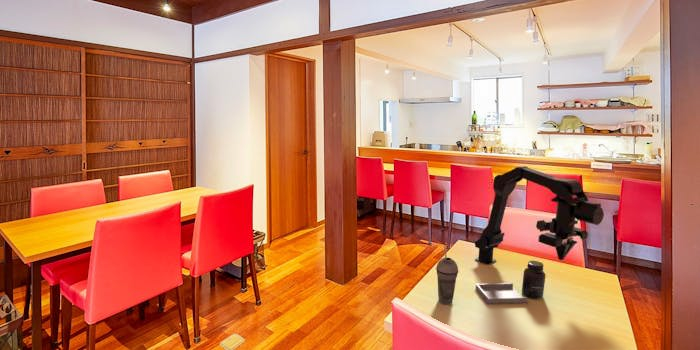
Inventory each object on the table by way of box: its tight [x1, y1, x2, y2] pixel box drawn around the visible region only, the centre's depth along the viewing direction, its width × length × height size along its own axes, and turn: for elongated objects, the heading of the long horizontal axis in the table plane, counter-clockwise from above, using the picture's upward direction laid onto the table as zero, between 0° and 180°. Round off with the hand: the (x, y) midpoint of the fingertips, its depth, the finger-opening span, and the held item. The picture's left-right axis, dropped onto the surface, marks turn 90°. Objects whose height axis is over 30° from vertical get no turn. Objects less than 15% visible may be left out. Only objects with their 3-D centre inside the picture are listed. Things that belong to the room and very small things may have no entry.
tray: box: [475, 282, 529, 305], centre depth 124 cm, size 14×10×2 cm
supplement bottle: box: [521, 260, 547, 300], centre depth 124 cm, size 7×7×12 cm
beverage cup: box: [435, 244, 459, 306], centre depth 119 cm, size 7×7×20 cm
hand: (560, 259), depth 123 cm, fingers closed
